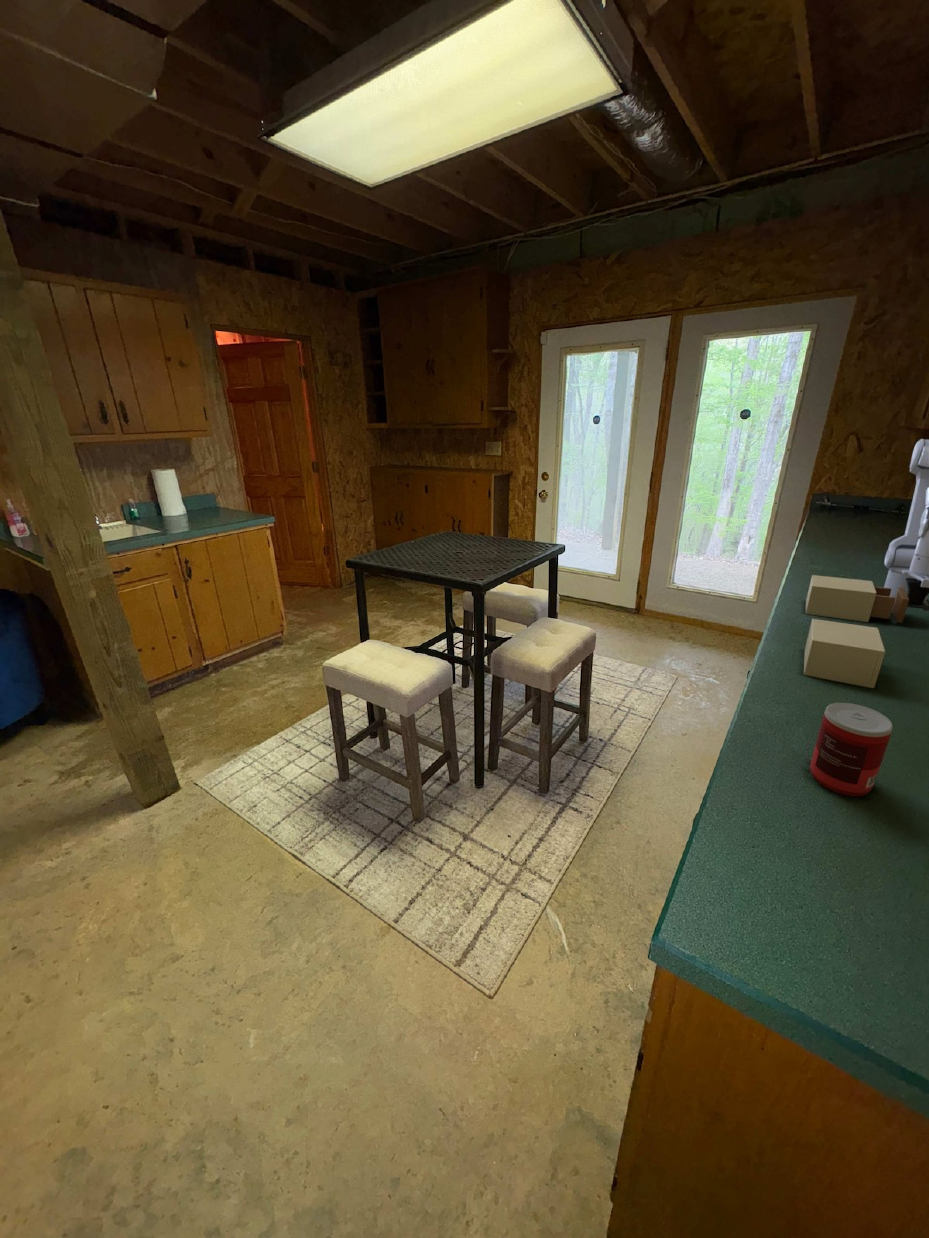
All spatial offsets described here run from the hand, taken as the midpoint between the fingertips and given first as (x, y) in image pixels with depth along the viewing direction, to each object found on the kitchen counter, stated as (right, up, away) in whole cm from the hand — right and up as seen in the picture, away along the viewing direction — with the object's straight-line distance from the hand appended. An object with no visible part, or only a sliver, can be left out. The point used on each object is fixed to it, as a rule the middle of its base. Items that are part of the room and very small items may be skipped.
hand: (912, 606), depth 125 cm
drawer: (-5, -2, +4) cm, 7 cm away
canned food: (-60, -27, -52) cm, 84 cm away
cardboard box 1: (-13, -1, +10) cm, 16 cm away
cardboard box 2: (-36, -14, -21) cm, 43 cm away
